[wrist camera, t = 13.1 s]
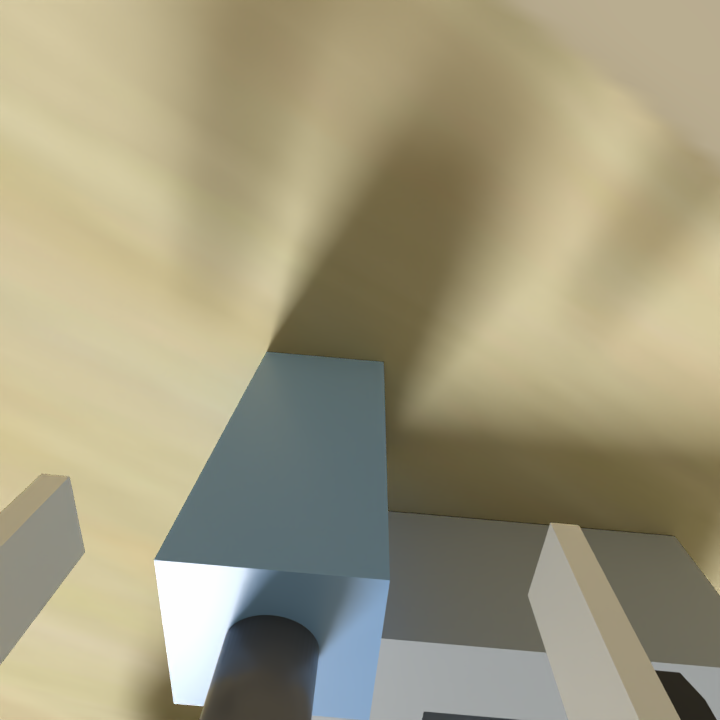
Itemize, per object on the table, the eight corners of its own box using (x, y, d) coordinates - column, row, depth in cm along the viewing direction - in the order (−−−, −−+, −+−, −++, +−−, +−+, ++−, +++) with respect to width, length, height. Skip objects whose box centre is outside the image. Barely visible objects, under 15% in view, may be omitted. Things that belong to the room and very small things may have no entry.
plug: (266, 351, 18) (82, 693, 7) (383, 361, 18) (394, 719, 7) (266, 449, 20) (122, 843, 9) (373, 458, 20) (367, 865, 9)
